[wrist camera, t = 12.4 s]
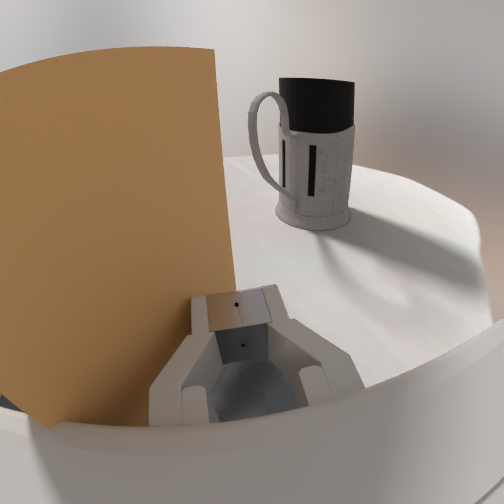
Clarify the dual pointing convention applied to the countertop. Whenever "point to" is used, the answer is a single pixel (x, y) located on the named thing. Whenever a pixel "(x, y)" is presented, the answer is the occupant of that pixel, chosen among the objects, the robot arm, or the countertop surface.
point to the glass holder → (311, 151)
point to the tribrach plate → (242, 391)
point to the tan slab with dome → (106, 226)
